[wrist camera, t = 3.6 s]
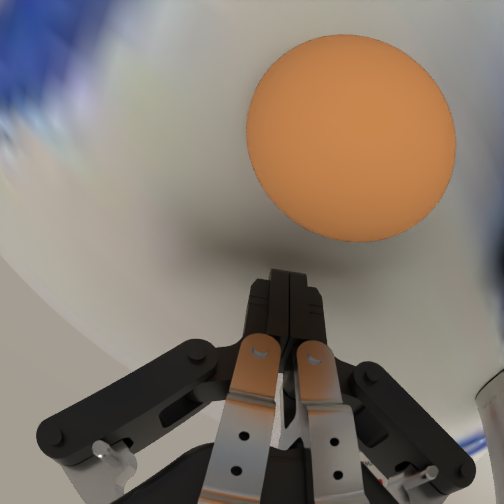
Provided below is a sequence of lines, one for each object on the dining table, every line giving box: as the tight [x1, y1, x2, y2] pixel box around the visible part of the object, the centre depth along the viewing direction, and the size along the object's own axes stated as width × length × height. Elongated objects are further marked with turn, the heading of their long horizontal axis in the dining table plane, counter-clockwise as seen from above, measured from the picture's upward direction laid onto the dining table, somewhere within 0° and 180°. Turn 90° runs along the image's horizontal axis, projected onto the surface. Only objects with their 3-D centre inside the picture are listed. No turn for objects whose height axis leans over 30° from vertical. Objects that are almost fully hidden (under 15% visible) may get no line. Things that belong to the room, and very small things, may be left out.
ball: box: [246, 35, 456, 242], centre depth 7 cm, size 6×6×6 cm
